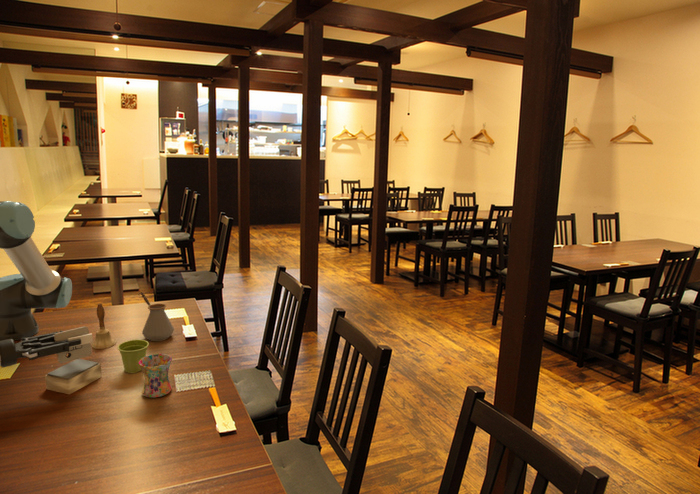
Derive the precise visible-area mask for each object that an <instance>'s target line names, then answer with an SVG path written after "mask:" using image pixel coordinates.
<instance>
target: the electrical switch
mask: <svg viewBox="0 0 700 494" xmlns="http://www.w3.org/2000/svg"><path fill="white" fill-rule="evenodd" d="M62 331H63V330H62ZM58 332H59V333H55V335H54V339H55V342H56V341H63V340H68V338H72V337H77V336H81V335H86V334H90V332H89V328H88V326H80V327H76V328H72V329H68V330H64V331H63V332H60V331H58ZM91 345H92V343H87V344H83V345H78V346H74V347H69V351H66V352H61V353H57V354H56V356H57V362H58V363H59V364H65V363H68V362H69V363H70V362H72V361H74V360H76V359H82V358H86V357H90V356H92V353H93V351H92V350H93V349H92V347H91Z"/></svg>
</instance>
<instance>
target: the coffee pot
mask: <svg viewBox="0 0 700 494" xmlns="http://www.w3.org/2000/svg"><path fill="white" fill-rule="evenodd" d="M138 295H140V296H141V298H143V300H144V302H145V303H146V304H147V305H148V307H147V309H148V310H149V314H148V316H147V319H146V322H145V324H144V327H143V330H142V331H141V332H142V335H143V337H145V338H146V339H148V340H149V341H151V342H162V341H165V340H167V339H169V338H170V336H172V335H173V334H174V331H175V328H174V326H173V324H172V322H171V320H170V319H169V317H168V315H167V313H166V311H165V308H166V307H167V304H164V303H154V304H151V302H150V300H149V299H148V297H146V295H145V293H144V292H140V293H138Z"/></svg>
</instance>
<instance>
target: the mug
mask: <svg viewBox="0 0 700 494" xmlns="http://www.w3.org/2000/svg"><path fill="white" fill-rule="evenodd" d="M172 360H173V357H172V356H171V355H169V354H166V353H152V354H149V355H146V357H144V358H142V359H141V360H140V361H139V366H140V367H141V369H142V371H141V372H142V374H143V378H144V382H143V383H144V384H143V387H142V390H141V393H142V395H143V396H144V397H146V398H160V397H164V396H166V395H168V394H169V393H170V392H171V391H172V389H173V386H172V384H171V383H170V379H169V370H170V366H171V364H172Z"/></svg>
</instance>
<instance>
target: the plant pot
mask: <svg viewBox="0 0 700 494" xmlns="http://www.w3.org/2000/svg"><path fill="white" fill-rule="evenodd" d="M149 345H150V343H149V341H147V340H144V339H132V340H131V339H130V340H127V341H124V342H121V343H119V344H118V345H117V350H118V351H119V353H120V356H121V360H122V364H123V369H124V372H126V373H127V374H136V373H139V372H140V371H141V372H143V371H142V369H141V367H140V366H139V361H140V360H141V359H142V358H144V357H146V356H147V350H148V347H149Z"/></svg>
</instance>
